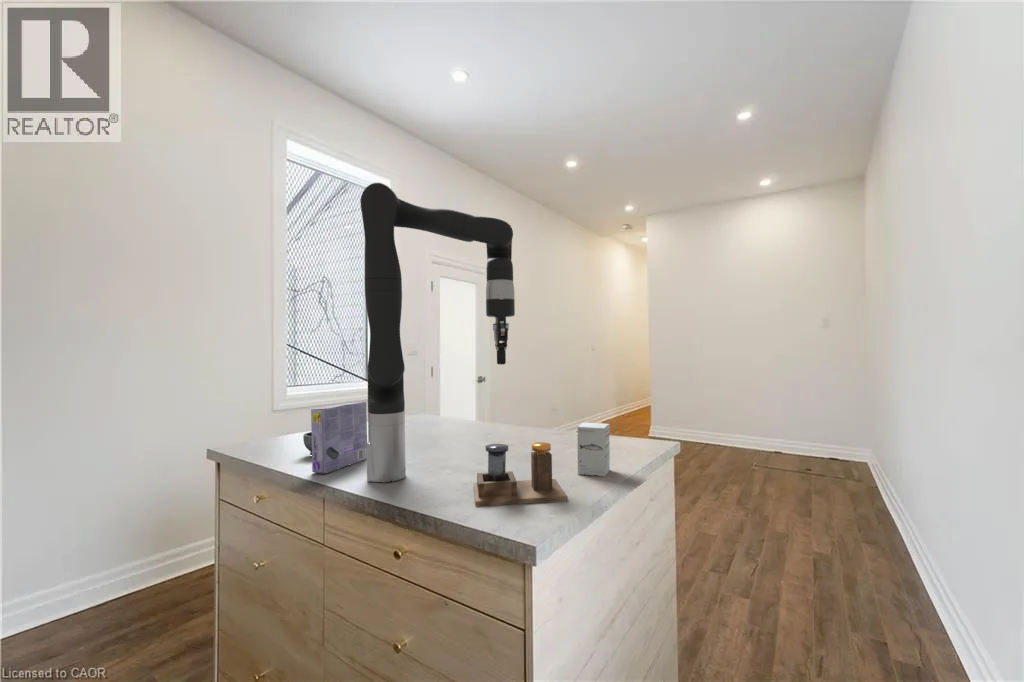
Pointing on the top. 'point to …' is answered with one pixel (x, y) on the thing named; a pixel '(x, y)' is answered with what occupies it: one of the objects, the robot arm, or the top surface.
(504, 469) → the spigot
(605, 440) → the supplement box
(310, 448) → the mortar and pestle
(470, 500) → the top surface
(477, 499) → the dock mount
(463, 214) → the robot arm
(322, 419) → the cake pan box
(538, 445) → the lock pin
